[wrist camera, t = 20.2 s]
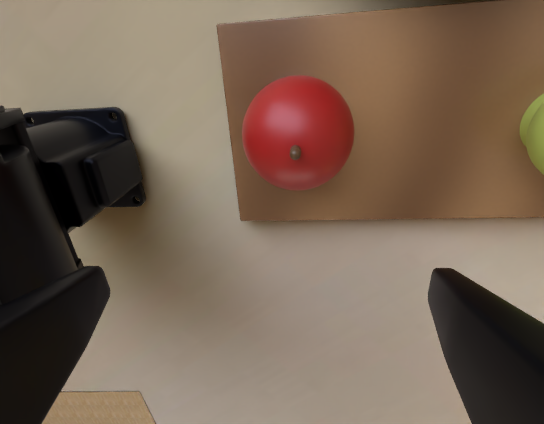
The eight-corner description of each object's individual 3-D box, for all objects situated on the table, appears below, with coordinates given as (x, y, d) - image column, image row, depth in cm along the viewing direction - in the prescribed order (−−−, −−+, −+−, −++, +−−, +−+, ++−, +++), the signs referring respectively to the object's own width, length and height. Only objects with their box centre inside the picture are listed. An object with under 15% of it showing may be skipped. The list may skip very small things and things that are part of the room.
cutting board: (244, 210, 22) (240, 221, 21) (223, 26, 17) (216, 24, 16) (601, 205, 19) (623, 216, 18) (695, -14, 14) (735, -21, 13)
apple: (255, 170, 19) (235, 217, 13) (247, 74, 17) (218, 86, 11) (345, 167, 18) (361, 216, 13) (349, 68, 16) (371, 76, 11)
